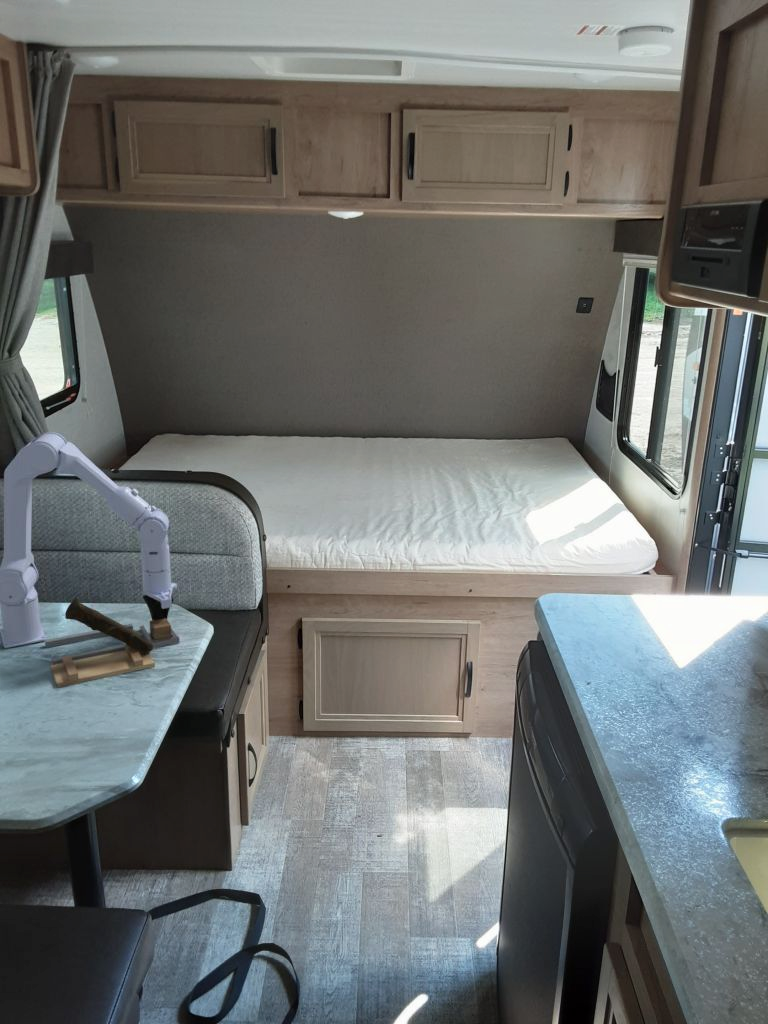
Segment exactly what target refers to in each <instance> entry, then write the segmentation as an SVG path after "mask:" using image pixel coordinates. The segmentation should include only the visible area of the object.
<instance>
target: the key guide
mask: <svg viewBox="0 0 768 1024" xmlns="http://www.w3.org/2000/svg"><path fill="white" fill-rule="evenodd" d="M139 631H140V632H141V635H142V636H143V637H144V638H145V639H147V640H148V641H149V642H150V643H151V644H152V645H153V649H156V648H161V647H166V646H171V645H176V644H180V643H181V642H180V637H179V635H177V634H176V632H175V631H174V630H173V628H172V627H171V637H169V638H164V639H159V640H154V641H153V639H152V638H151V636H150V633H149V632H148V630H147V629H146V628H145V626H144V625H140V626H139Z"/></svg>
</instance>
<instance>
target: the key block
mask: <svg viewBox="0 0 768 1024" xmlns="http://www.w3.org/2000/svg"><path fill="white" fill-rule="evenodd" d="M171 628H172V625H171V623H170V622H169V621H168V618H167V619H166V618H163V619H158V620H152V619H151V620H149V635H150V637H151V638H152V640H153V641H154V640H159V639H164V638H169V637H171Z"/></svg>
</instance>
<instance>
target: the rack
mask: <svg viewBox="0 0 768 1024" xmlns="http://www.w3.org/2000/svg"><path fill="white" fill-rule="evenodd" d="M66 656H67V657H63V656H61V657H62V662H63V663H60V664H55V665H52V664H51V665H50V670H51V673H52V675H53V679H54V681H55V685H56V687H57V688H62V687H66V686H71V685H75V684H79V683H85V682H89V681H93V680H98V679H99V680H100V679H103V678H104V679H105V678H108V677H111V676H112V677H113V676H117V675H122V674H127V673H130V672H136V671H140V670H145V669H148V668H149V669H150V668H155V667H156V664H155V661H154V660H153V658H152V656H151V654H150V652H143V651H140V650H136V649H134V648H132V647H130V646H128V645H125V650H124V651H119V652H114V653H109V654H104V655H99V656H94V657H90V658H85V659H80V660H75V661H73V660H72V658H71V656H68V655H66Z"/></svg>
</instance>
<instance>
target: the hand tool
mask: <svg viewBox="0 0 768 1024" xmlns="http://www.w3.org/2000/svg"><path fill="white" fill-rule="evenodd" d="M64 615H65V616H64V618H65V619H66V620H71V621H77V622H79V623H81V624H83V625H85V626H86V627H88V628H90V629H91V631H96V630H97V631H100V632H102V633H104V634H106V635H108V636H109V637H111V638H113V639H116V640H117V641H119V642H122V643H123V644H127V645H128V646H130V647H132V648H134V649H136V650H140V651H143V652H148V653H150V652H152V651H153V650H154V648H153V645H152V644H151V643H150V642H149V641H148V640H147V639H145V637H144V636H143V634H140V633H139V632H138V631H136V630H134V629H133V630H132V629H129V628H127V627H125V626H124V625H125V624H124V625H123V624H122V623H120V622H118V621H117V620H114V619H113V618H110V617H108V616H106V615H104V614H103V613H101V612H99V611H98V610H95V609H93V608H92V607H89V606H87V605H85V604H84V603H81V602H80V601H79V599H78V597H75V598H73V600H72V601H71V602H70V604H69V605H68V607H67V608H66V610H65V614H64ZM108 636H107V637H108Z"/></svg>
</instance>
